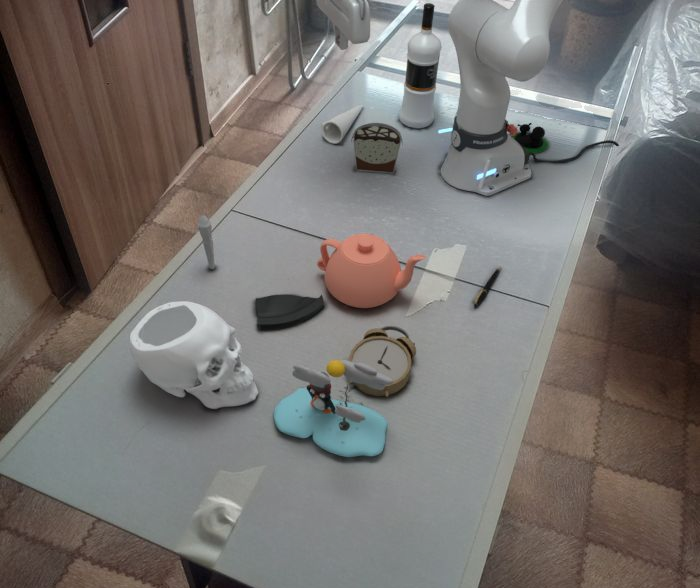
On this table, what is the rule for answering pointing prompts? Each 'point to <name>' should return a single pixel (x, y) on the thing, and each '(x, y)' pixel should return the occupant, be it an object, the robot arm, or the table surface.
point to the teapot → (364, 270)
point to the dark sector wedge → (285, 310)
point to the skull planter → (192, 354)
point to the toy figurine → (531, 138)
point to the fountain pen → (486, 288)
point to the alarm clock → (385, 358)
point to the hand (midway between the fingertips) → (341, 46)
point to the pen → (207, 239)
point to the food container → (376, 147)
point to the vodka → (421, 74)
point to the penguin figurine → (334, 411)
